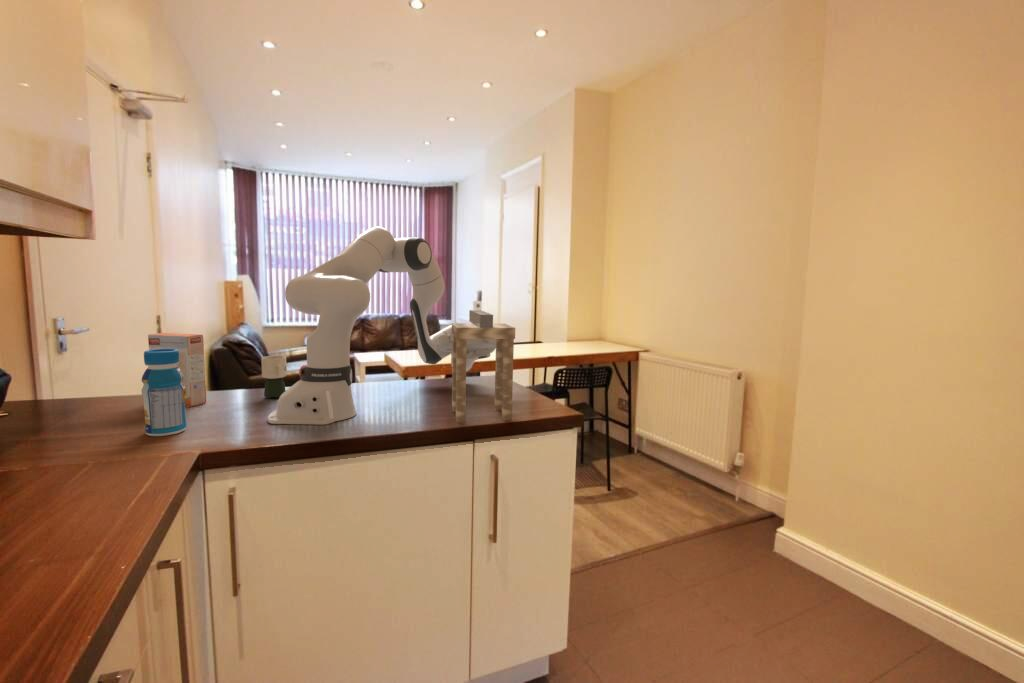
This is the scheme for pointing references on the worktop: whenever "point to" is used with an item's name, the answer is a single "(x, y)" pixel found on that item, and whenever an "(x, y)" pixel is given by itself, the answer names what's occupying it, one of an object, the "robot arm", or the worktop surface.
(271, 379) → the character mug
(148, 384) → the beverage bottle
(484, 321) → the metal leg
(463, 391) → the stool
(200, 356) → the cracker box
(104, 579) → the worktop surface
